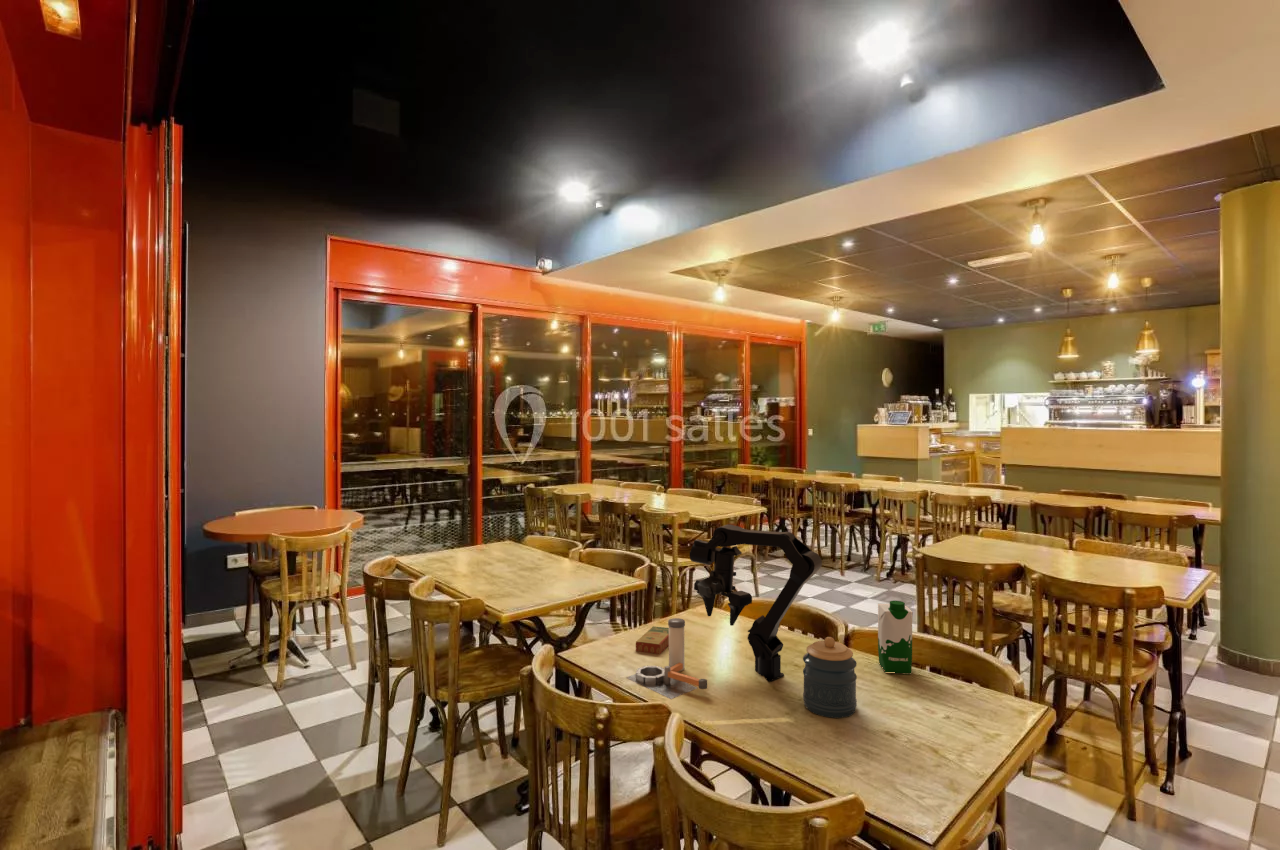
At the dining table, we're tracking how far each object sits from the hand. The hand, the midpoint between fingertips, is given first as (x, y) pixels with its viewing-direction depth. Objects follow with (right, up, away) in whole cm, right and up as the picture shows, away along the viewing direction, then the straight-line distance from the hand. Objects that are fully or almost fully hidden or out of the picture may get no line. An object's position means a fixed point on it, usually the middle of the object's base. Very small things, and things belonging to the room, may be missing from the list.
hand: (720, 620), depth 185 cm
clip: (-10, -13, -16) cm, 22 cm away
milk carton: (+50, -13, -3) cm, 52 cm away
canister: (+24, -14, -27) cm, 38 cm away
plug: (-13, -13, -4) cm, 19 cm away
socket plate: (-18, -13, -14) cm, 26 cm away
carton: (-18, -14, +16) cm, 28 cm away
